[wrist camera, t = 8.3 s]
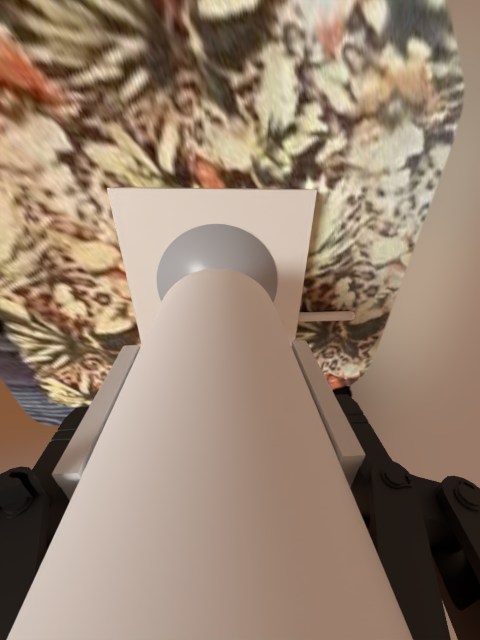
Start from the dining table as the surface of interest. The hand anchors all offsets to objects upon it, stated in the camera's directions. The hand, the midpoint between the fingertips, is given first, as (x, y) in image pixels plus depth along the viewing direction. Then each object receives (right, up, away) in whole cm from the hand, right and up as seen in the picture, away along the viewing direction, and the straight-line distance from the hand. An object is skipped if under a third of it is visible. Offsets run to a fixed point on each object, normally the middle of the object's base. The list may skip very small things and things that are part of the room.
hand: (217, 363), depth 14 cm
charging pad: (+2, +6, +11) cm, 13 cm away
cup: (0, +2, +4) cm, 4 cm away
